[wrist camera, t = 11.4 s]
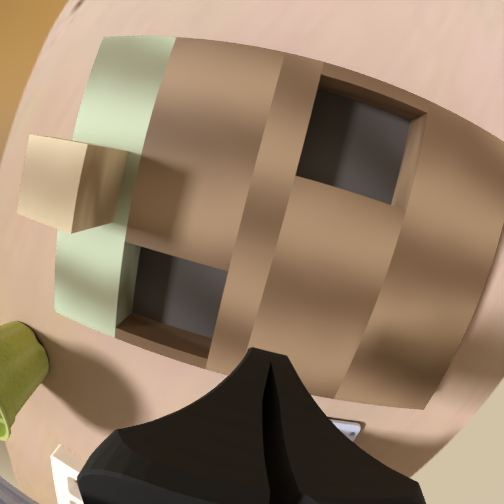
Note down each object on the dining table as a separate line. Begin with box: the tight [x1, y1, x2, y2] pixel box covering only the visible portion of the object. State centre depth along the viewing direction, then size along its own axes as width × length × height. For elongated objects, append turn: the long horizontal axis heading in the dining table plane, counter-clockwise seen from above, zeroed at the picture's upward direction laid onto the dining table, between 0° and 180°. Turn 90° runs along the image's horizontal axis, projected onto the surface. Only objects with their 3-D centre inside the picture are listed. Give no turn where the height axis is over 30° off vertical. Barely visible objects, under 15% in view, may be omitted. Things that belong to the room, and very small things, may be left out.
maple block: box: [17, 134, 129, 234], centre depth 14 cm, size 4×4×4 cm
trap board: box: [54, 36, 504, 410], centre depth 17 cm, size 18×26×3 cm
